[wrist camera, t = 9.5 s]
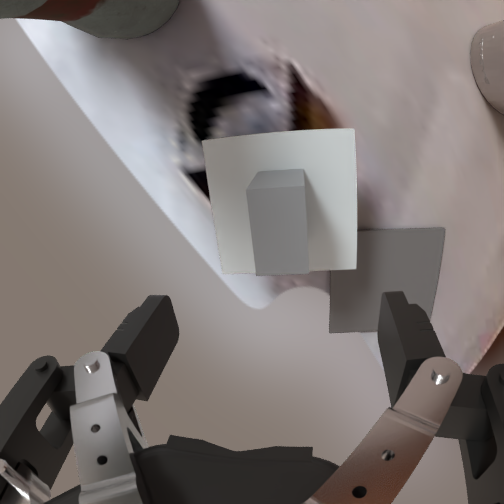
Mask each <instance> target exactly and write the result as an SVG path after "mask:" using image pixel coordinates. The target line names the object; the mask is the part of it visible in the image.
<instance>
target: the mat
mask: <svg viewBox="0 0 504 504" xmlns="http://www.w3.org/2000/svg"><path fill="white" fill-rule="evenodd" d="M444 235H445V229H444V228H410V229H378V230H357V263H356V269H346V270H330V322H329V323H330V324H329V333H346V332H365V331H378V321H379V313H380V305H381V296H382V293H383V292H391V291H403V292H404V294H405V296H406V299H407V301H408V303H409V304H417V305H419V306H420V307H421V308H422V309H423V310H424V311H426V314H427V316H428V318H429V320H430V317H431V312H432V308H433V303H434V298H435V293H436V288H437V282H438V277H439V271H440V265H441V258H442V251H443V243H444Z"/></svg>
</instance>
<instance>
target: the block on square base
mask: <svg viewBox="0 0 504 504" xmlns="http://www.w3.org/2000/svg"><path fill="white" fill-rule="evenodd" d="M202 146H203V153H204V160H205V167H206V174H207V180H208V187H209V194H210V200H211V206H212V213H213V219H214V225H215V232H216V238H217V244H218V250H219V256H220V262H221V267H222V273H223V274H244V273H256V276H266V275H294V274H309V271H324V270H346V269H356V263H357V174H356V150H355V133H354V129H353V128H344V129H316V130H298V131H284V132H271V133H260V134H250V135H240V136H231V137H223V138H215V139H208V140H203V141H202Z"/></svg>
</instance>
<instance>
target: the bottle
mask: <svg viewBox="0 0 504 504" xmlns="http://www.w3.org/2000/svg"><path fill="white" fill-rule="evenodd" d="M178 3H179V0H0V19H1V18H25V19H42V20H55V21H62V22H64V23H66V24H68V25H70V26H73V27H75V28H77V29H80V30H82V31H84V32H87V33H89V34H91V35H94V36H96V37H98V38H115V39H131V38H136V37H140V36H144V35H148V34H150V33H151V32H153V31H155V30H157V29H159V28H160V27H161V26H162V25H163V24H164V23H166V22H167V21H168V20H169V19H170V18H171V16H172V15H173V13H174V12H175V10H176V9H177V7H178Z"/></svg>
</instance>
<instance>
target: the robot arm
mask: <svg viewBox="0 0 504 504" xmlns="http://www.w3.org/2000/svg"><path fill="white" fill-rule="evenodd" d="M470 54H471V65H472V70H473V74H474V77H475V80H476V83H477V85H478V87H479V89H480V91H481V93H482V94H483V95H484V97H485V98H486V100H487V101H488V102H489V103H490V104H491V105H492V106H493V108H495V109H496V110H497V111H499V112H500V113H501V114H504V20H503V21H499V22H496V23H493V24H490V25H487V26H485V27H483V28H482V29H480V30H479V31H478V32H477V33H476V35H475V36H474V39H473V41H472V45H471V52H470ZM178 338H179V327H178V324H177V320H176V317H175V313H174V310H173V306H172V303H171V299H170V298H169V296H167V295H150V296H148V297H147V299H146V300H145V301H144V303H143V304H142V305H141V306H140V307H137V308H136V309H135V310H133V311H132V312H130V313H129V314H128V315H127V317H126V318H125V319H124V320H123V322H122V324H120V326H119V327H118V328H117V330H116V331H115V332H114V333H113V335H112V336H111V338H110V339H109V340H108V342H107V343H106V344H105V346H104V347H103V348H102V350H101V351H94V352H90V353H87V354H85V355H84V356H82V357H81V358H79V360H77V362H76V363H75V365H74V366H62V367H60V365H59V363H58V362H57V360H56V358H55V357H53V356H43V357H40V358H38V359H36V360H35V361H34V362H32V363H31V365H30V366H29V367H28V368H27V370H26V371H25V372H24V373H23V375H22V376H21V377H20V379H19V380H18V381H17V383H16V384H15V385H14V387H13V388H12V389H11V391H10V392H9V394H8V395H7V396H6V398H5V399H4V401H3V402H2V403H1V405H0V504H391V503H392V502H393V501H394V499H395V498H396V496H397V495H398V494H399V492H400V491H401V489H402V488H403V486H404V485H405V483H406V482H407V481H408V479H409V478H410V476H411V474H412V473H413V471H414V470H415V468H416V467H417V465H418V463H419V462H420V460H421V459H422V457H423V455H424V454H425V452H426V450H427V449H428V447H429V445H430V443H431V442H432V440H433V438H434V436H436V437H444V438H453V439H459V444H460V450H461V455H462V460H463V467H464V472H465V479H466V486H467V495H468V503H469V504H504V364H498V365H495V366H493V367H492V368H491V369H490V370H489V371H488V374H487V375H486V376H481V375H472V374H466V373H462V370H461V368H460V366H459V365H458V364H457V363H456V362H455V361H453V360H451V359H449V358H446V356H445V354H444V352H443V349H442V347H441V345H440V342H439V340H438V338H437V335H436V333H435V331H433V327H432V324H431V323H430V320H429V318H428V316H427V314H426V311H424V310H423V309H422V308H421V307H420V306H419V305H417V304H409V303H408V301H407V299H406V296H405V294H404V292H403V291H391V292H383V293H382V296H381V305H380V313H379V321H378V344H379V348H380V353H381V357H382V362H383V366H384V371H385V376H386V381H387V386H388V391H389V397H390V402H391V408H390V407H389V408H388V409H387V410H386V411H385V412H384V413H383V414H382V416H381V417H380V418H379V420H378V421H377V422H376V424H375V425H374V426H373V427H372V429H371V430H370V431H369V433H368V434H367V435H366V436H365V438H364V439H363V440H362V441H361V442H360V444H359V445H358V446H357V447H356V448H355V450H354V451H353V452H352V453H351V455H349V457H348V458H347V459H346V460H345V461H344V462H343V464H342V465H341V466H338V465H336V464H334V463H332V462H330V461H327V460H324V459H321V458H317V457H313V456H312V450H313V447H281V446H279V447H278V446H275V447H269V448H262V449H255V450H247V451H232V450H229V449H226V448H223V447H220V446H217V445H215V444H212V443H208V442H206V441H204V440H199V439H192V438H186V437H179V436H174V435H170V437H169V439H168V442H167V444H162V445H155V446H152V447H149V446H148V444H147V442H146V439H145V436H144V433H143V430H142V427H141V424H140V421H139V418H138V415H137V412H136V409H135V407H134V405H133V403H134V401H135V400H136V399H138V400H144V401H148V399H149V397H150V395H151V393H152V391H153V389H154V387H155V385H156V383H157V381H158V379H159V377H160V375H161V373H162V371H163V369H164V367H165V365H166V363H167V362H168V360H169V358H170V355H171V354H172V352H173V350H174V348H175V346H176V344H177V342H178ZM46 403H47V405H48V406H49V407H50V408H51V410H52V412H51V414H50V415H49V417H48V419H47V420H46V422H45V424H44V425H43V427H42V429H41V430H40V432H39V431H38V429H37V427H36V418H37V416H38V414H39V413H40V411H41V410H42V408H43V406H44V405H45V404H46ZM73 443H74V450H75V457H76V463H77V469H78V474H79V480H80V485H78V486H76V487H74V488H72V489H70V490H68V491H67V492H64V493H63V494H61V495H59V496H57V497H55V498H53V499H50V497H51V494H50V490H51V488H52V486H53V484H54V481H55V479H56V477H57V475H58V473H59V471H60V469H61V467H62V465H63V463H64V461H65V459H66V457H67V455H68V453H69V451H70V449H71V447H72V445H73Z"/></svg>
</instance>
